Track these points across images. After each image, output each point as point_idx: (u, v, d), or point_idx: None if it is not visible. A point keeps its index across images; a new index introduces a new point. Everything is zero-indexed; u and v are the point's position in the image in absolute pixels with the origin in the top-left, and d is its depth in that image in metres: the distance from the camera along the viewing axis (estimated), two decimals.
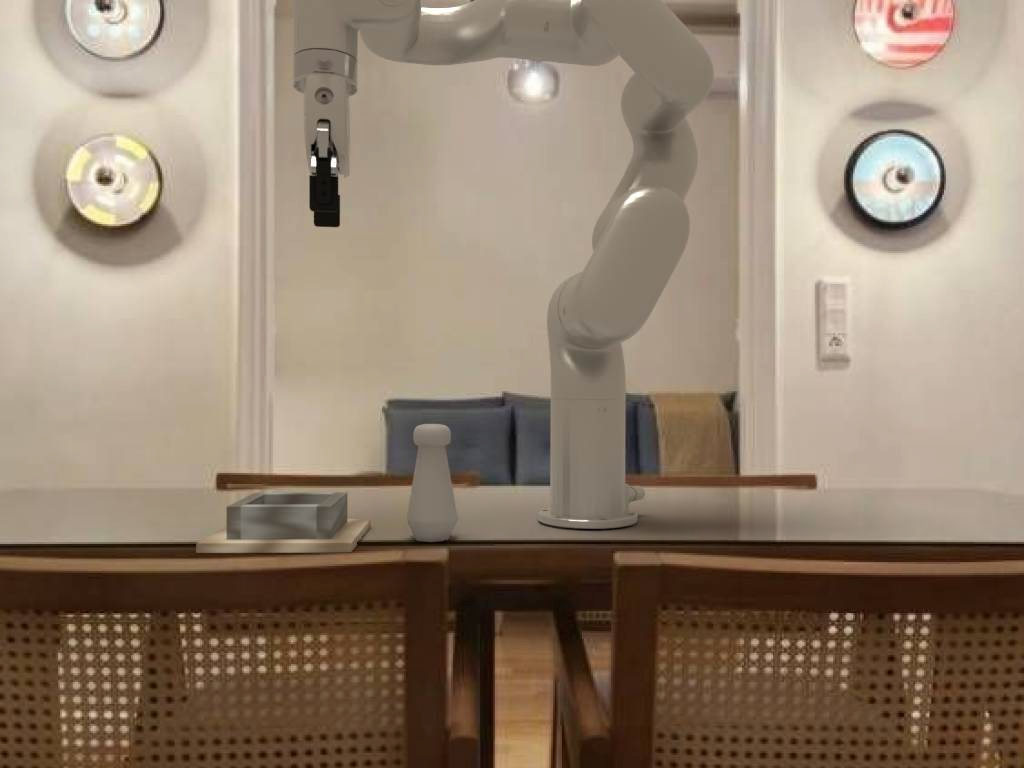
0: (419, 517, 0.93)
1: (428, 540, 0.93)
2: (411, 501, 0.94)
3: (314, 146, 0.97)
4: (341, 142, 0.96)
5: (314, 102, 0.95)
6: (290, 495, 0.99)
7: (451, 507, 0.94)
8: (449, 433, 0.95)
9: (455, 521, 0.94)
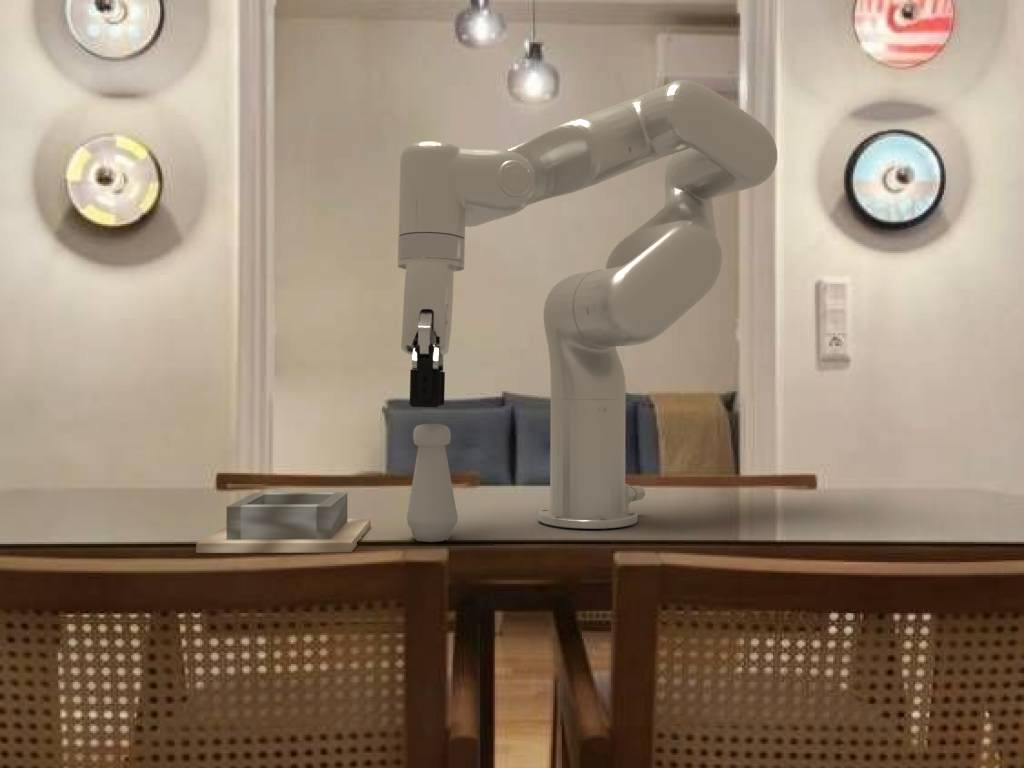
0: (419, 517, 0.93)
1: (428, 540, 0.93)
2: (411, 501, 0.94)
3: None
4: None
5: None
6: (290, 495, 0.99)
7: (451, 507, 0.94)
8: (449, 433, 0.95)
9: (455, 521, 0.94)
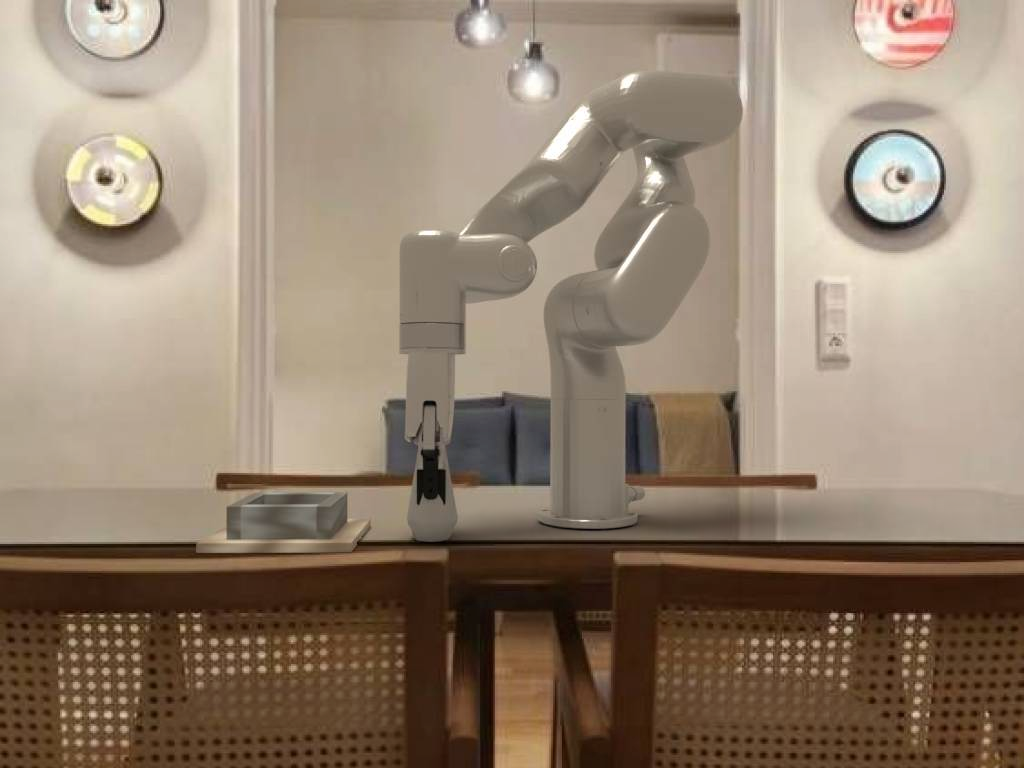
0: (420, 517, 0.93)
1: (428, 540, 0.93)
2: (411, 501, 0.94)
3: None
4: None
5: None
6: (290, 495, 0.99)
7: (451, 507, 0.94)
8: None
9: (455, 521, 0.94)
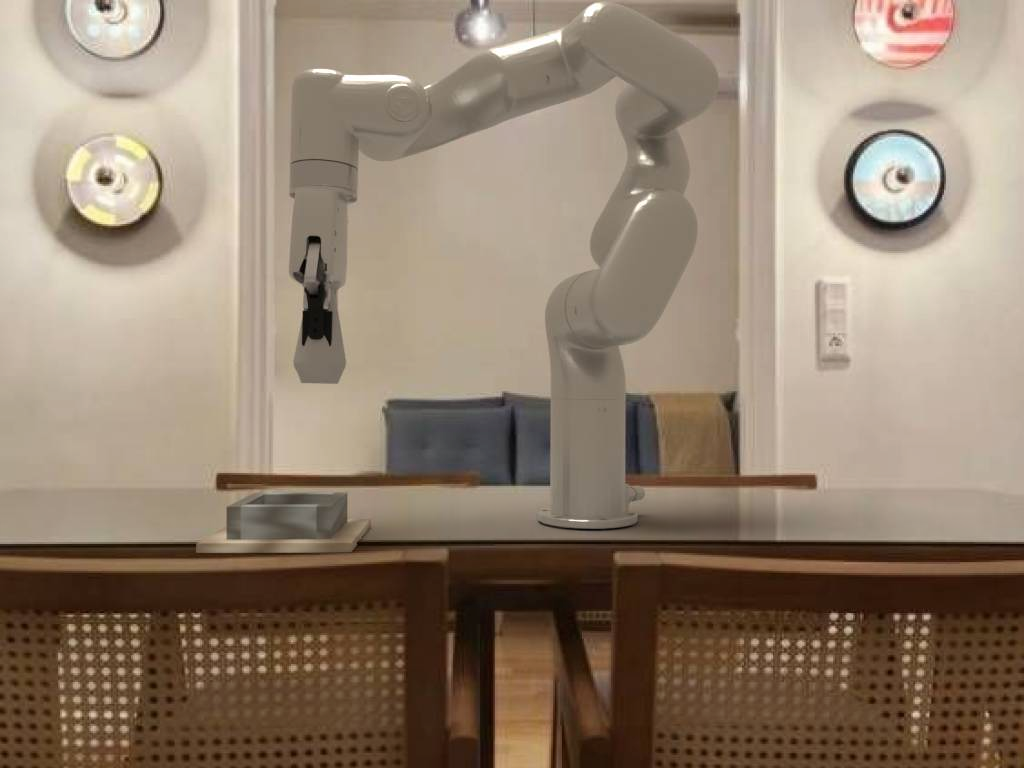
0: (304, 357, 0.92)
1: (313, 381, 0.93)
2: (297, 343, 0.93)
3: None
4: None
5: None
6: (290, 495, 0.99)
7: (338, 350, 0.93)
8: None
9: (341, 365, 0.94)
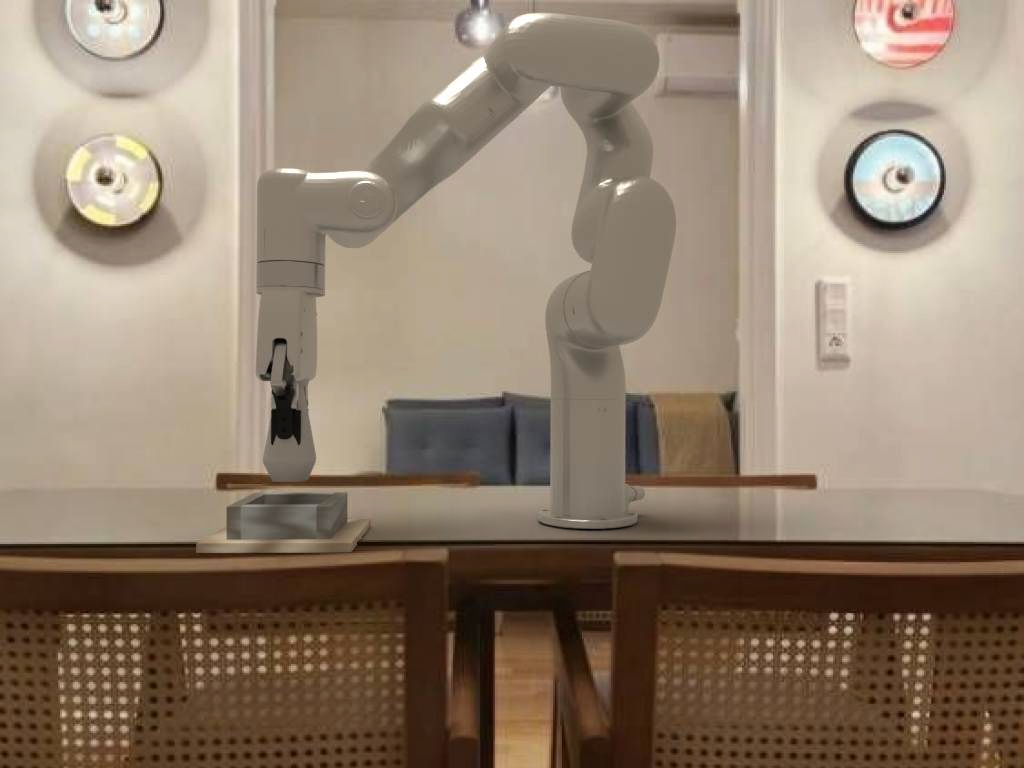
0: (273, 456, 0.92)
1: (282, 480, 0.93)
2: (267, 441, 0.94)
3: None
4: None
5: None
6: (290, 495, 0.99)
7: (306, 448, 0.93)
8: None
9: (311, 462, 0.94)
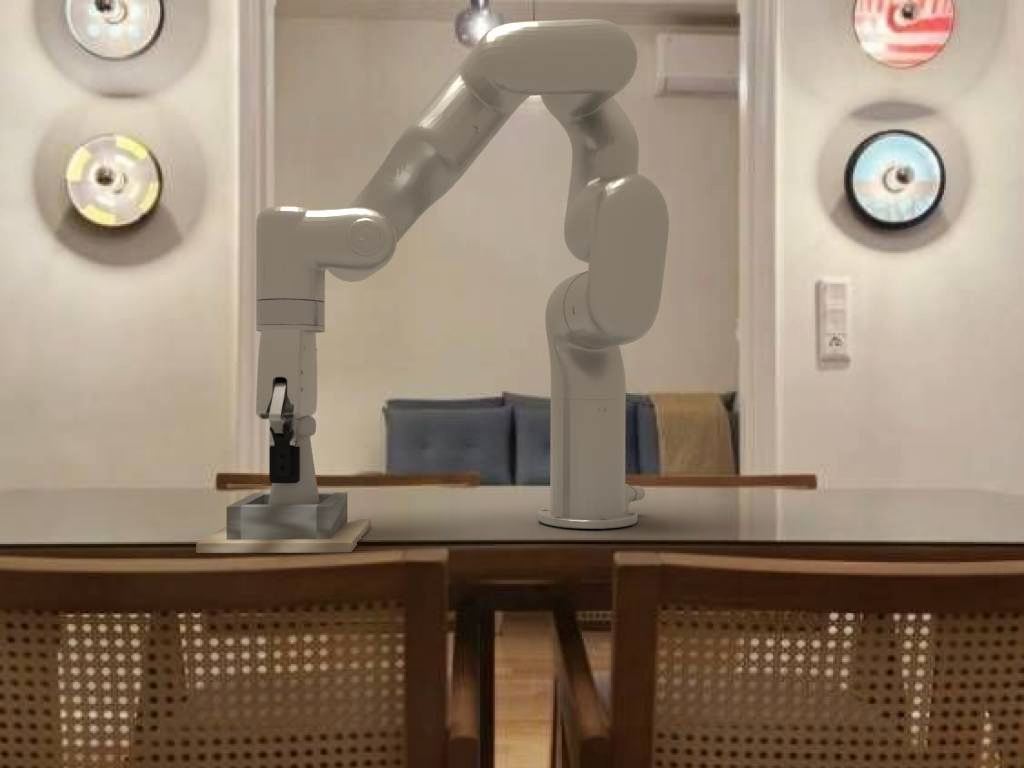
0: None
1: None
2: (271, 491, 0.94)
3: None
4: None
5: None
6: None
7: (311, 499, 0.93)
8: (313, 424, 0.94)
9: None
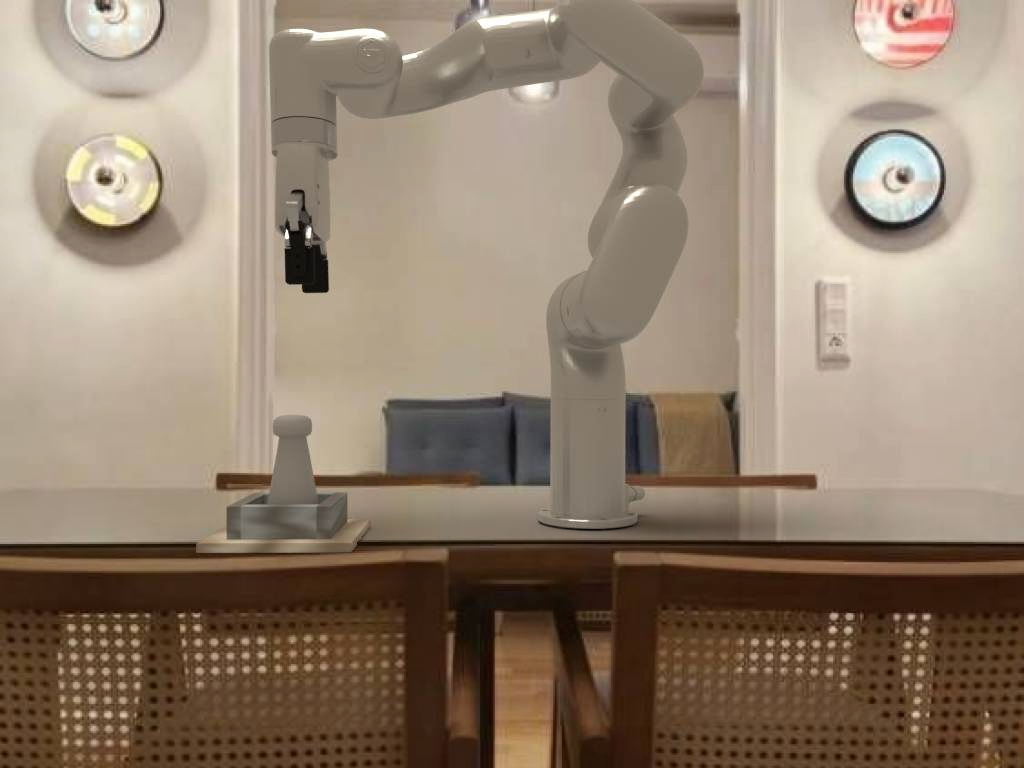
0: None
1: None
2: (270, 492, 0.94)
3: None
4: None
5: None
6: None
7: (309, 498, 0.93)
8: (309, 424, 0.94)
9: None
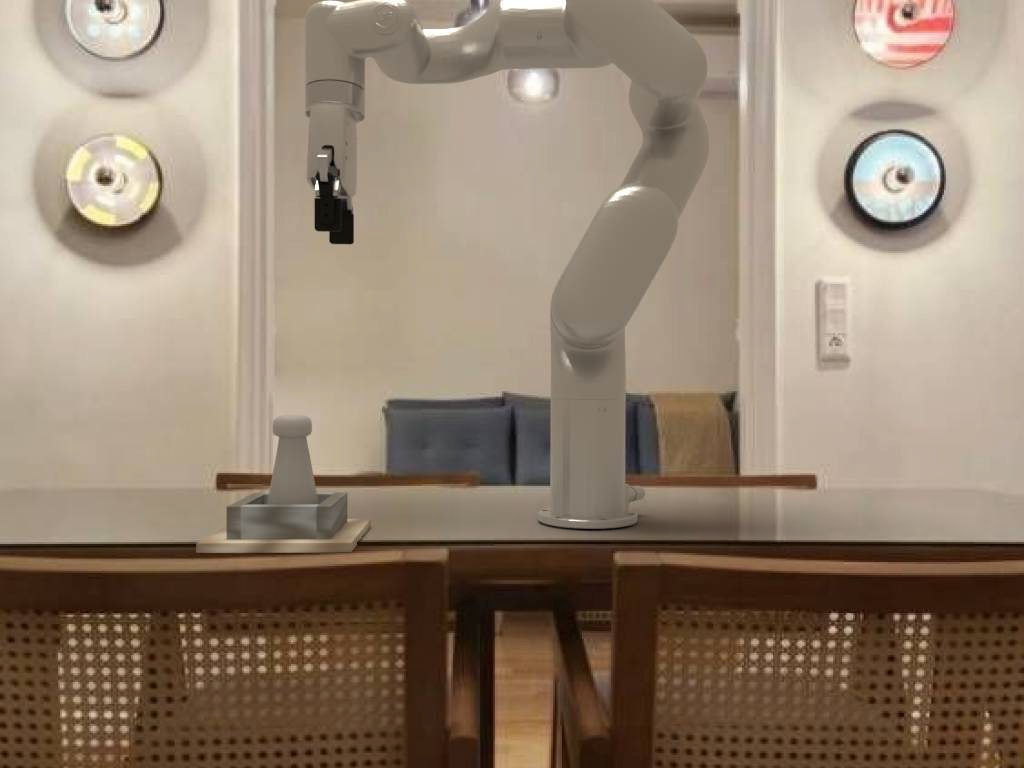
0: None
1: None
2: (270, 492, 0.94)
3: None
4: None
5: None
6: None
7: (309, 498, 0.93)
8: (308, 424, 0.94)
9: None
